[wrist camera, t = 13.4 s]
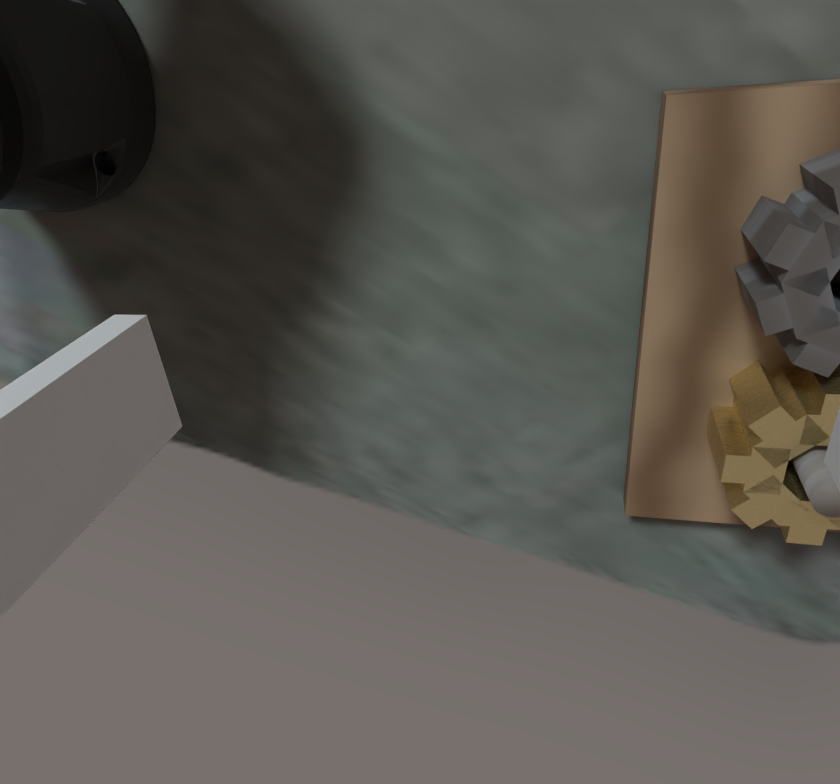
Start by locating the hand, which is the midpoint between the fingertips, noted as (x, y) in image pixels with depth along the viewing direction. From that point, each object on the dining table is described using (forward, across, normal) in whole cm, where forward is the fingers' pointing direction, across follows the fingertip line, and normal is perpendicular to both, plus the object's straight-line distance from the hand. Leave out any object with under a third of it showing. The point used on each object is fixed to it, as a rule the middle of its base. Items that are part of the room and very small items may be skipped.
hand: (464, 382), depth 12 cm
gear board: (+26, +15, -11) cm, 32 cm away
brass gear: (+24, +15, -16) cm, 33 cm away
